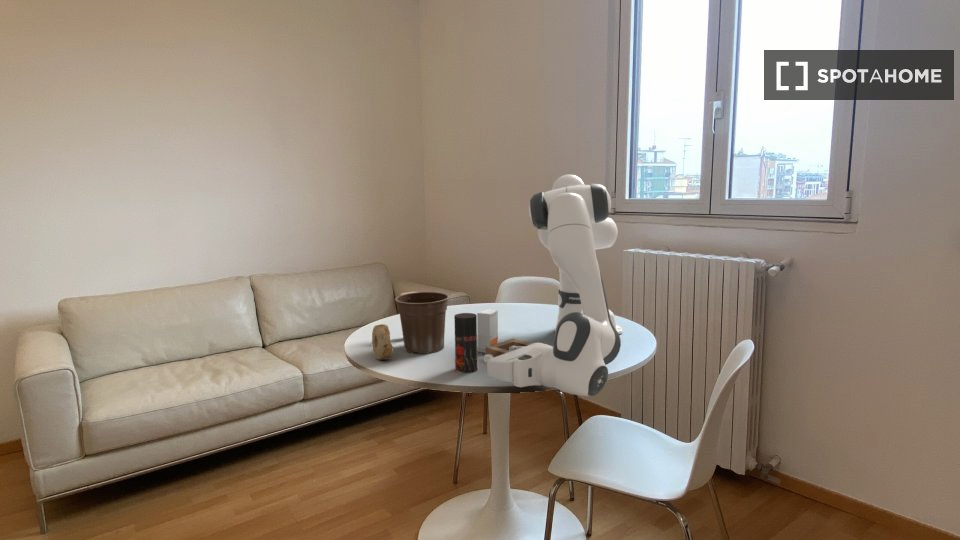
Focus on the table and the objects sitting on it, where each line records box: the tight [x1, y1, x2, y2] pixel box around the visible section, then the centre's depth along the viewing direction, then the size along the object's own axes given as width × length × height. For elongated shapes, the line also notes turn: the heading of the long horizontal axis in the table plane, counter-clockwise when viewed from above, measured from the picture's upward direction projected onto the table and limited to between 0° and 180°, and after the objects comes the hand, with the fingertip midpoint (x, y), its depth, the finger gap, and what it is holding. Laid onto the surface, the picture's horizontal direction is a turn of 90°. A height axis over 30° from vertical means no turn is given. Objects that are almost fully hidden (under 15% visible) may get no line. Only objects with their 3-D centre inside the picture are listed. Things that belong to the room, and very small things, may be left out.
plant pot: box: [394, 291, 450, 355], centre depth 166 cm, size 16×16×16 cm
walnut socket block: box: [484, 338, 534, 358], centre depth 155 cm, size 12×12×4 cm
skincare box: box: [476, 308, 499, 353], centre depth 163 cm, size 6×4×12 cm
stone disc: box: [371, 323, 394, 361], centre depth 156 cm, size 10×4×10 cm, turn 29°
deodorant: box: [454, 312, 478, 374], centre depth 146 cm, size 6×6×15 cm
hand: (498, 353), depth 138 cm, fingers open, 8 cm apart
